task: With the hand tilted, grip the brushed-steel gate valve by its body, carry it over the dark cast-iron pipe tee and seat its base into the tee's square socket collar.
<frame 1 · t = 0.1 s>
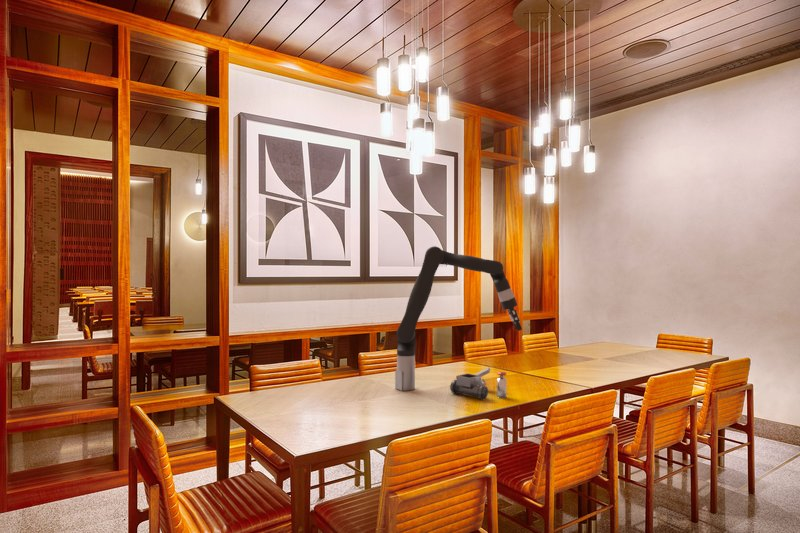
hand: (518, 329, 246), 31 cm above the table, tool tilted 20°, fingers open, 8 cm apart
door handle: (472, 387, 257), on the table
tee: (468, 396, 237), on the table
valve: (501, 397, 236), on the table
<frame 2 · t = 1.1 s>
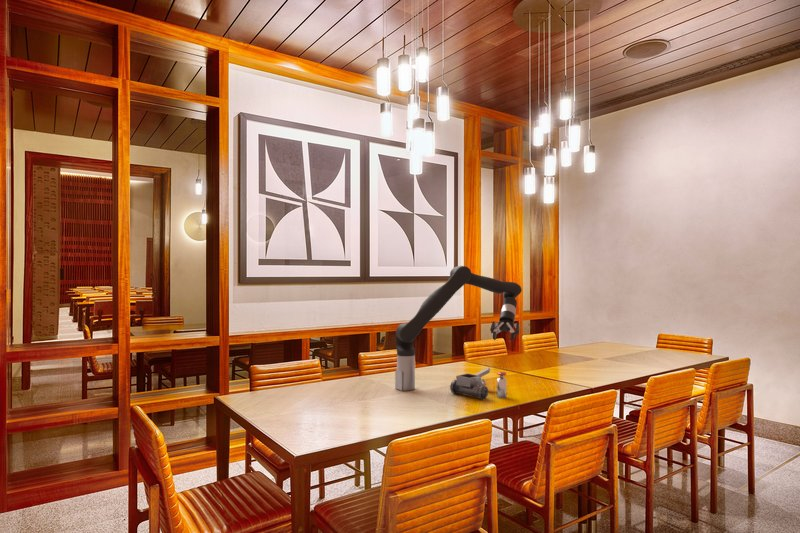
hand: (502, 339, 246), 26 cm above the table, tool tilted 45°, fingers open, 8 cm apart
nothing on the table moved.
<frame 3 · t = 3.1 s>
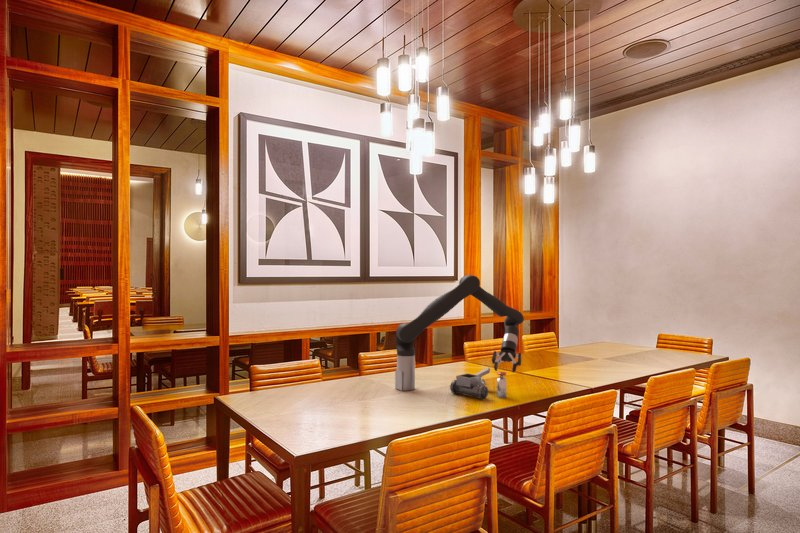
hand: (504, 370, 242), 12 cm above the table, tool tilted 45°, fingers open, 8 cm apart
nothing on the table moved.
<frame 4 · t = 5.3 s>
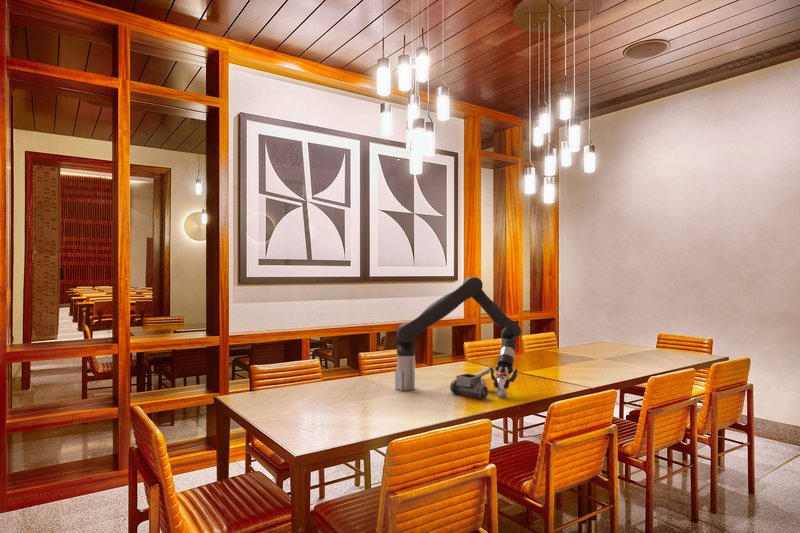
hand: (500, 387, 234), 5 cm above the table, tool tilted 45°, fingers closed on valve, 4 cm apart
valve: (501, 397, 236), on the table, touching gripper
everything else where it was.
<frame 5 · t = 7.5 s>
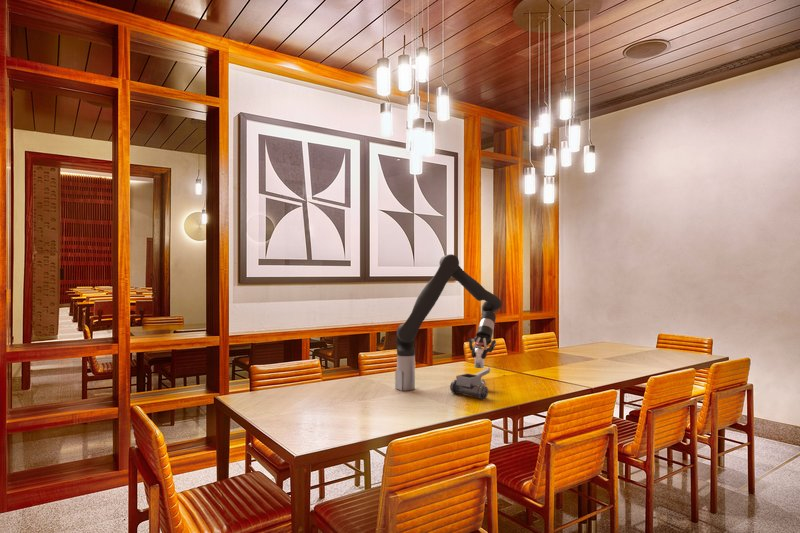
hand: (478, 357, 235), 19 cm above the table, tool tilted 45°, fingers closed on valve, 4 cm apart
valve: (479, 367, 237), point 14 cm above the table, touching gripper
everything else where it was.
when the fingers open (13 cm above the table, at t = 10.0 s): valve drops 1 cm, resting on tee.
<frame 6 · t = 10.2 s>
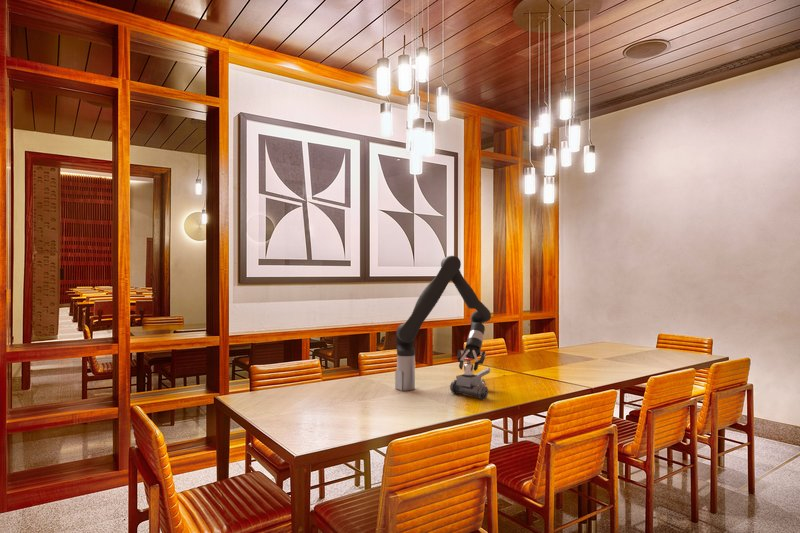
hand: (467, 369, 236), 13 cm above the table, tool tilted 45°, fingers open, 6 cm apart
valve: (468, 382, 238), point 7 cm above the table, touching tee
everything else where it was.
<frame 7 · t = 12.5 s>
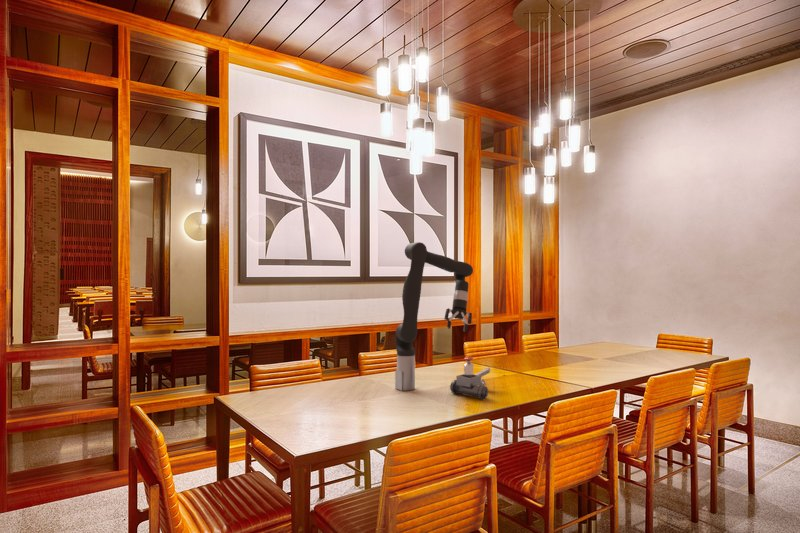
hand: (456, 330, 259), 29 cm above the table, tool tilted 15°, fingers open, 8 cm apart
nothing on the table moved.
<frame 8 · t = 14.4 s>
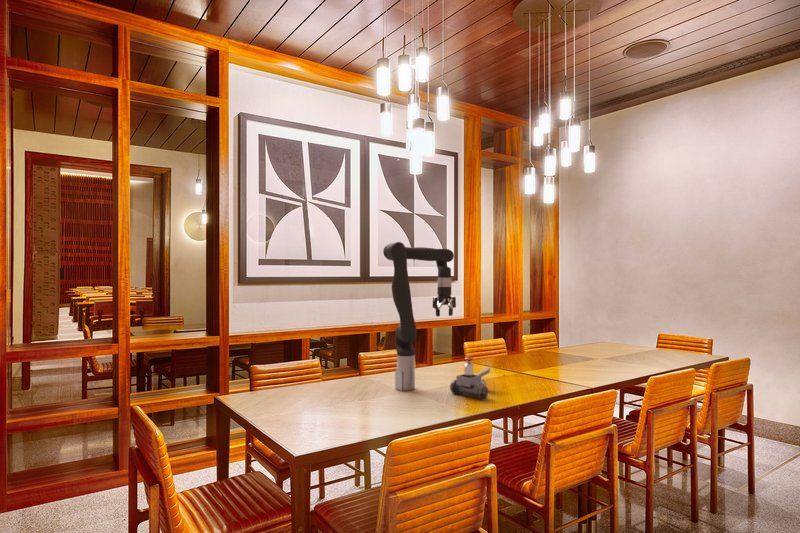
hand: (444, 316, 266), 36 cm above the table, tool pointing down, fingers open, 8 cm apart
nothing on the table moved.
at the end: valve 0.1 cm off-centre on the tee, point 6.6 cm above the tee's base; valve tilted 1°; the gripper is holding nothing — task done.
